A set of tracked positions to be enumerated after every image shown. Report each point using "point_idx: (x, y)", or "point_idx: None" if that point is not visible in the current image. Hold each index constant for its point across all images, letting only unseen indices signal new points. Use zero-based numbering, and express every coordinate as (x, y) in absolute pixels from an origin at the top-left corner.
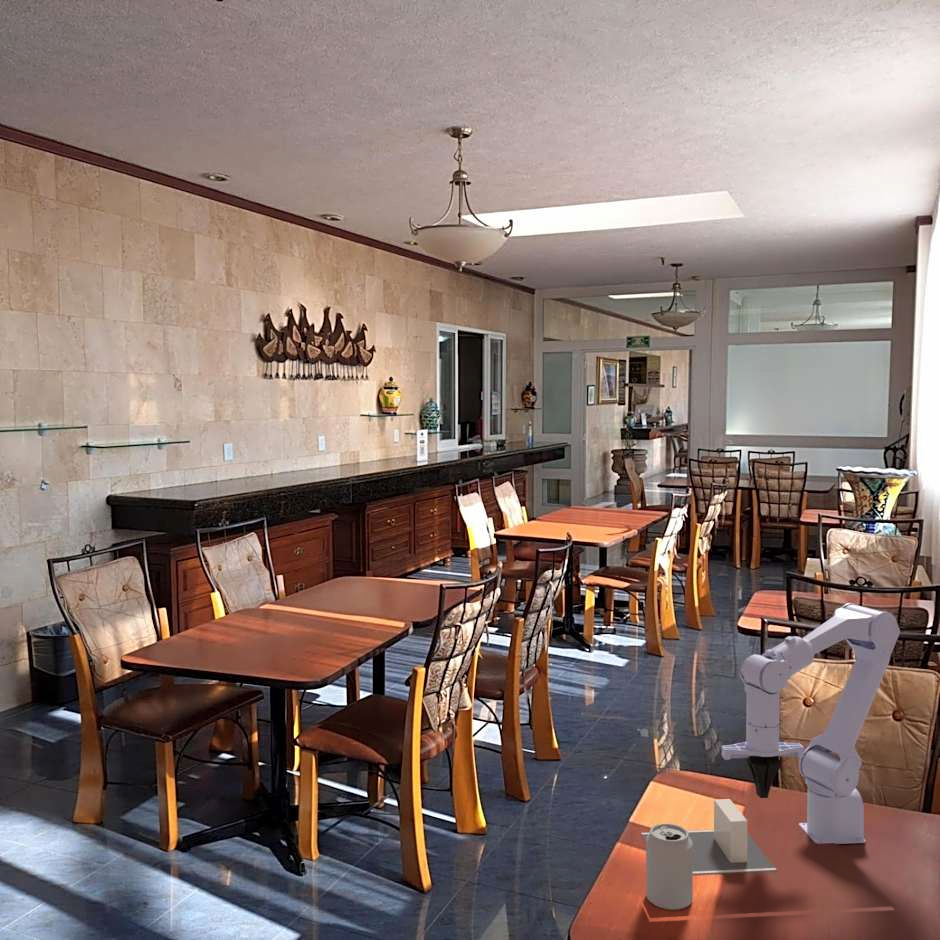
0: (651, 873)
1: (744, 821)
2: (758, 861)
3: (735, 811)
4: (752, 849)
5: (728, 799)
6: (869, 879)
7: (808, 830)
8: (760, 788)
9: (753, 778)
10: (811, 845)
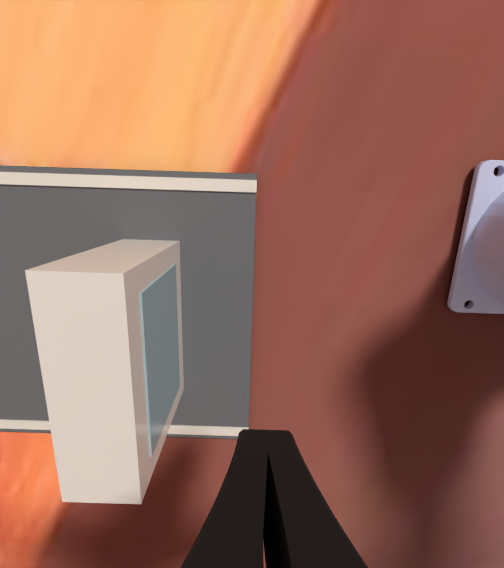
0: None
1: (127, 501)
2: (216, 390)
3: (112, 417)
4: (227, 323)
5: (113, 278)
6: (466, 477)
7: (477, 238)
8: None
9: (207, 521)
10: (431, 301)
